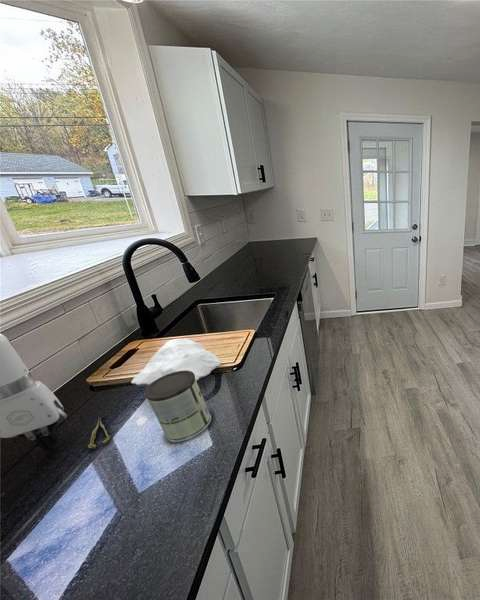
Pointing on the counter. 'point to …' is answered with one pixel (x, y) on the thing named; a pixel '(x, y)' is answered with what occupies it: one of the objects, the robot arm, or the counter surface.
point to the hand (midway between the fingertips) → (51, 445)
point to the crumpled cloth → (178, 361)
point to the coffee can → (178, 405)
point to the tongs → (95, 434)
